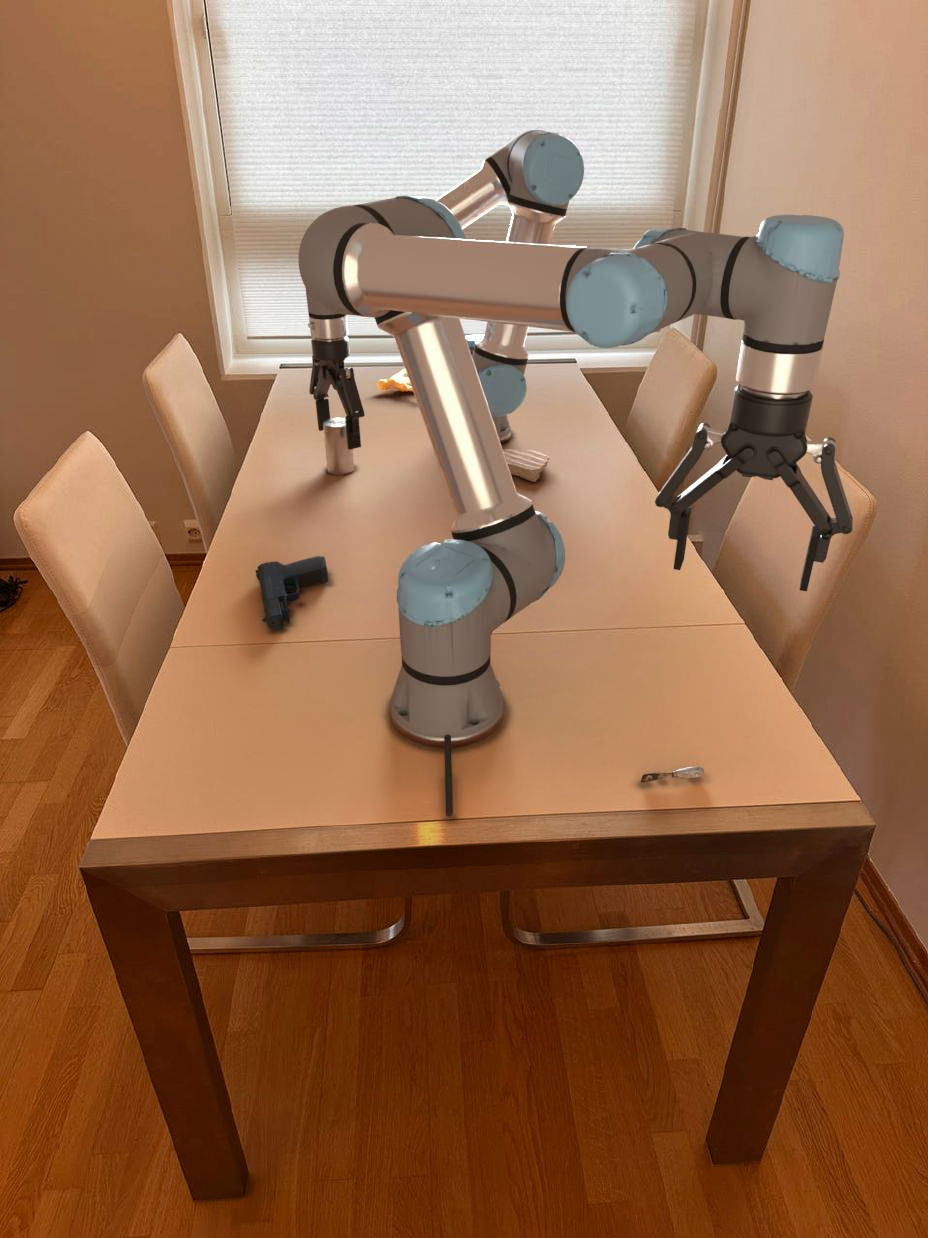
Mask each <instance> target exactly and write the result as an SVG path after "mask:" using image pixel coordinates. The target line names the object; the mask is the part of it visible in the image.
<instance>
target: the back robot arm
mask: <svg viewBox="0 0 928 1238" xmlns="http://www.w3.org/2000/svg"><path fill="white" fill-rule="evenodd" d="M584 176H585V163H584V159H583V155H582V154H581V151H580V149H579V148H578V146H577V145H576V143H574V141H572V140H571V139H570V138H568V137H566V136H565V135H563V134H560V133H559V132H551V131H546V130H542V129H530V130H526V131H524V132H523V131H522V133H520V134H518V135H517V136H515V137H514V138H512V139H511V140H509V141H508V142H507V143H505V144H504V145H502V146H501V147H500V148H499V149H498V150H496V151H494V152H493V153H492V154H491V155H489V156H488V157H486V158H485V159H484V160H483V161H482V163H481V166H480V169H479V170H477V171H476V172H474V173H473V174H472V175H470V176H469V177H467V178H466V179H464V180H463V181H461V182H460V183H458V184H457V185H455V186H454V187H453V188H452V189H450V190H449V191H447V192H445V193H444V194H443V195H441V196H440V197H438V198H436V199H435V200H436V201H437V202H439V203H441V204H443V205H444V206H445V207H447V208H448V209H449V210H450V211H451V212H452V214H453V215H454V216H455V217H456V219H457V220H458V222H459V224H460V226H461V228H462V230H464V229H465V228H467V227H468V226H470V225H471V224H472V223H474V222H475V221H477V220H478V219H480V218H482V217H483V216H484V215H486V214H487V213H490V211H491V210H493V209H494V208H496V207H497V206H500V205H504V206H508V207H509V208H510V210H511V213H512V216H511V220H510V224H509V225H510V226H509V228H508V233H507V237H506V241H505V242H513V243H529V244H545V245H551V242H552V238H553V234H554V230H555V226H556V225H557V224H558V223H560V222H561V221H563V220H564V219H565V218H566V215H567V211H568V207H569V204H570V201H571V200H572V199H573V198H574V197H575V196H576V195H577V193H579V191H580V188H581V187H582V184H583V181H584ZM304 287H305V286H304ZM305 296H306V304H307V312H308V313H307V314H308V321H309V323H308V324H307V327H308V328H309V330H310V331H309V332H310V336H311V337H312V338H311V353H312V354H311V355H312V356H311V360H312V361H311V362H312V366H311V373H310V383H309V395H313V400H315V409H316V410H315V411H316V418H317V419H316V420H317V427H318V431H320V432H322V431H324V428H323V422H324V421H325V420H327V419H330V418H331V412H330V401H329V397H330V396H329V393H328V392H329V390H330V387H332V388H333V390H335V391H336V393H337V395H338V397H339V400H340V402H341V405H342V408H343V411H344V412H345V417H344V418H345V422H346V433H347V445H348V449H349V450H351V449H353V450H354V449H358V448H362V442H361V441H362V439H361V430H360V427H361V426H360V418H363V417H365V416H366V415H365V411H364V406H363V403H362V399H361V397H360V394H359V389H358V386H357V382H356V379H355V373H354V367H353V366H352V367H351V366H350V367H346V364H345V360H346V359H347V358H349V357H350V355H351V348H350V338H349V337H348V335H349V322H348V315H345V314H339V313H336V312H332V311H330V310H328V309H326V308H325V307H323V306H321V305H320V304H319V303H318V302H317V301H315V300H314V298H313V297H312V296H311V295H310V294H309V292H308V290H307V289H306V287H305ZM529 328H530V327H527V326H519V325H511V324H502V323H494V322H487V323H486V327H485V329H484V330H485V331H484V334H468V335H465V337H466V340H467V343H468V346H469V349H470V352H471V355H472V358H473V361H474V364H475V367H476V370H477V373H478V376H479V379H480V383H481V386H482V389H483V392H484V395H485V398H486V401H487V404H488V407H489V410H490V413H491V416H492V419H493V422H494V425H495V428H496V431H497V434H498V437H499V440H500V443H501V444H503V443H505V442H507V441H508V440H509V439H510V438H511V435H512V434H511V433H512V428H511V423H510V420H509V416H508V415H510V414H512V413H513V412H515V411H516V410H517V409H519V408H520V406H521V405H522V404H523V402H524V400H525V399H526V396H527V390H528V387H527V379H526V377H525V372H526V368H527V365H528V361H529V358H530V357H529V356H530V355H529V352H528V351H527V349H526V347H525V343H526V340H527V336H528V331H529Z"/></svg>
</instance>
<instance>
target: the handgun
mask: <svg viewBox="0 0 928 1238" xmlns="http://www.w3.org/2000/svg"><path fill="white" fill-rule="evenodd" d="M255 576H256V579H257V581H259V586H260V591H261V592H260V593H261V598H262V599H261V600H262V605H263V610H264V615H265V617H264V618H262V619H261V622H262V623H266V627H267V628H268V629H270V630H271V631H277V630H283V628H284V626H285V623H284V622H285V621H286V623H287V624H289V623H290V613H289V607H288V603H291V602H295V601H298V600H300V590H302V589H306V588H309V587H314V586H317V585H320V584H323V583H328V582H329V575H328V567H327V562H326V557H325V556H321V555H319V556H318V555H317V556H314V557H313V556H312V557H307V558H304V559H300V560H297V561H294V562H291V563H288V564H283V563H280V562H279V561H267V562H263V563H261V564H259V565H257V569H256V570H255ZM290 592H293V593H290Z"/></svg>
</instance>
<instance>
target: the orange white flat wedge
mask: <svg viewBox="0 0 928 1238" xmlns="http://www.w3.org/2000/svg"><path fill="white" fill-rule="evenodd" d="M404 375H407V372H406V369H405V367H403V369H402V370H401V369H400V370H399V372H398V373H395V374H394V375H391V377H390V378H388V379H383V378H382V379H379V380H378V381H377V389H378V390H380V391H384V392H386V391H390V390H391V387H393V388H395V389H396V390H397V391H400V392H408V391H409V392H413V389H412V386H411V384H410V381H409V378H408V376H407V377H406V376H404Z"/></svg>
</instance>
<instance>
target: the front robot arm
mask: <svg viewBox="0 0 928 1238" xmlns="http://www.w3.org/2000/svg"><path fill="white" fill-rule="evenodd" d="M436 200H437V199H434V198H431V197H428V196H423V195H417V196H416V195H415V196H411V195H397V196H395V197H392V198H387V199H381V200H376V201H369V202H364V203H359V204H352V205H343V206H342V205H341V206H339V207H333V208H332V209H330V210H327V211H325V212H323V213H322V214H320V215H319V216H317V218H316V219H314V220H313V222H312V223H311V224H310V225H308V227H307V228H306V230H305V232H304V234H303V236H302V238H301V241H300V245H299V249H298V269H299V274H300V277H301V280H302V283H303V286H304V287H306V288H305V290H306V289H307V290H308V292H309V294H310V295H311V296H312V297H313V298H314V300H315V301H317V302H318V303H319V304H320V305H321V306H323V307H325V308H326V309H328V310H330V311H332V312H336V313H339V314H345V315H347V316H357V317H363V318H364V317H365V318H374V320H375V323H376V326H377V328H378V329H379V330H381V331H383V332H385V333H387V334H389V335H390V336H391V337H393V338H394V342H395V344H396V347H397V350H398V352H399V355H400V358H401V361H402V363H403V366H404V367H405V369H406V372H407V374H406V375H407V378H409V381H410V384H411V386H412V389H413V391H412V392H413V395H414V398H415V400H416V404H417V406H418V409H419V412H420V414H421V417H422V420H423V423H424V426H425V429H426V432H427V435H428V437H429V440H430V443H431V446H432V449H433V451H434V454H435V457H436V460H437V463H438V465H439V468H440V471H441V474H442V477H443V480H444V483H445V485H446V489H447V491H448V494H449V497H450V500H451V502H452V505H453V508H454V511H455V516H454V519H453V520H452V522H451V525H450V527H449V531H450V534H451V536H452V539H444V540H443V541H442V542H440V543H439V542H437V541H432V542H430V543H427V544H425V545H422V546H420V547H419V548H417V549H415V550H414V551H413V552H411V553H410V554H409V555H408V556H407V557H406V558H405V559H404V561H403V563H402V564H401V566H400V568H399V571H398V578H397V583H398V584H397V590H396V603H397V607H398V608H397V609H398V620H399V621H398V622H399V640H400V655H401V667H400V669H399V672H398V675H397V678H396V681H395V684H394V687H393V690H392V693H391V696H390V703H389V706H390V718H391V721H392V724H393V725H394V727H395V728H396V729H397V731H398V732H399V733H400V734H402V735H403V736H404V737H406V738H407V739H409V740H411V741H413V742H415V743H417V744H420V745H421V744H422V745H425V746H430V747H437V748H444V790H445V791H444V792H445V794H444V797H445V800H444V801H445V815H446V816H447V817H452V816H453V815H454V801H453V764H452V763H453V762H452V759H453V758H452V748H454V747H455V748H457V747H463V746H467V745H471V744H473V743H476V742H480V741H481V740H483V739H485V738H486V737H488V736H489V735H491V734H492V733H493V732H494V731H495V730H496V729H498V727H499V726H500V724H501V722H502V720H503V717H504V697H503V693H502V690H501V685H500V683H499V681H498V679H497V677H496V674H495V672H494V668H493V666H492V664H491V654H492V653H491V651H492V649H491V648H492V647H491V645H492V634H493V632H494V631H495V630H497V629H498V628H499V627H501V626H503V624H505V623H506V622H507V621H509V620H510V619H511V618H513V617H514V616H515V615H517V614H518V613H520V612H521V611H523V610H524V609H526V608H528V607H529V606H530V605H531V604H532V603H535V602H537V601H538V600H540V599H542V598H543V597H544V596H545V595H546V594H547V593H548V591H549V590H550V589H551V588H552V587H553V586H555V584H556V583H557V582H558V581H559V579H560V577H561V575H562V573H563V570H564V567H565V561H566V552H565V551H566V550H565V545H564V544H565V543H564V541H563V537H562V535H561V533H560V531H559V529H558V527H557V526H556V524H554V522H553V521H550V520H547V519H548V517H547V516H546V515H545V514H543V513H541V512H539V511H537V510H535V507H534V504H533V501H532V499H530V498H528V497H527V496H524V495H523V494H521V493H519V492H518V491H517V488H516V485H515V483H514V479H513V477H512V474H511V473H510V470H509V467H508V464H507V461H506V458H505V455H504V452H503V449H504V448H503V446H502V443H500V440H499V437H498V434H497V431H496V428H495V425H494V422H493V419H492V416H491V413H490V410H489V407H488V404H487V401H486V398H485V395H484V392H483V389H482V386H481V383H480V379H479V376H478V373H477V370H476V367H475V364H474V361H473V358H472V355H471V352H470V349H469V346H468V343H467V340H466V337H465V336H466V334H465V331H464V327H463V325H462V323H461V319H462V320H470V321H477V322H478V321H479V322H494V323H502V324H511V325H519V326H527V327H529V328H536V329H544V330H551V331H552V330H553V331H559V332H560V331H562V332H571V333H576V335H578V336H579V337H580V338H582V340H584V341H585V342H587V343H588V344H589V345H591V346H593V347H595V348H600V349H612V348H613V349H614V348H617V347H620V346H629V345H632V344H636V343H638V342H640V341H641V340H643V339H645V338H646V337H648V336H649V335H652V334H653V333H655V332H657V331H660V330H662V329H665V328H666V327H669V326H671V325H673V324H675V323H677V322H680V321H682V320H684V319H687V318H690V317H692V316H693V315H699V316H700V315H701V316H707V317H708V316H709V317H714V318H715V317H716V318H722V319H729V320H735V321H737V320H739V321H743V333H742V337H741V343H740V348H739V349H740V350H739V356H738V361H737V368H736V369H737V370H736V376H735V380H736V382H737V383H738V385H737V386H736V387H734V389H733V394H732V401H731V408H730V414H729V419H728V425H727V427H726V428H725V430H720V429H717V428H712V427H711V425H710V424H709V423H708V422H702V423H700V424H699V426H698V428H697V430H696V433H695V434H694V439H693V443H692V445H691V446H690V448H689V450H688V451H687V452H686V454H685V455H684V457H683V458H682V459H681V460H680V462H679V463H678V465H676V468H675V469H674V470H673V472H672V473H671V474H670V476H669V478H668V479H667V480H666V482H665V483H664V484H663V485H662V487H661V489H660V490H659V492H658V493H657V496H656V497H655V501H654V504H655V506H656V507H658V508H664V509H666V510H668V512H669V514H670V516H669V523H668V531H667V535H668V539H669V540H675V541H676V547H675V554H674V562H673V570H677V571H681V569H682V567H683V564H684V561H685V555H686V548H687V542H688V541H687V540H688V534H689V529H690V520H691V514H692V507H691V506H692V505H693V504H694V503H696V502H697V501H698V500H700V499H701V498H702V497H703V496H705V495H706V494H707V493H708V492H710V491H711V490H712V489H713V488H714V487H715V486H717V485H718V484H719V483H721V482H722V481H723V480H724V479H725V480H726V479H727V478H728V477H731V475H732V474H734V473H735V472H737V473H739V474H741V477H745V478H756V477H757V478H761V479H762V480H767V481H773V480H774V479H778V478H781V480H782V481H783V483H784V484H785V486H786V487H787V488H788V489H790V491H791V493H792V494H793V495H794V497H795V498H796V500H797V501H798V503H799V504H800V506H801V507H802V508H803V510H804V511H805V513H806V515H807V516H808V518H809V519H810V521H811V523H812V524H813V525H812V527H811V528H812V529H811V533H810V538H809V542H808V546H807V551H806V554H805V559H804V563H803V568H802V573H801V577H800V585H799V591H801V592H808V589H809V584H810V581H811V575H812V572H813V571H812V570H813V567H814V562H816V563H822V564H823V563H824V562H825V561H826V560H827V557H828V552H829V547H830V544H831V539H832V537H833V536H834V535H838V534H842V535H848V534H851V533H852V532H853V525H854V524H853V522H854V521H853V519H854V517H853V515H852V511H851V507H850V504H849V502H848V499H847V496H846V492H845V489H844V486H843V483H842V479H841V476H840V474H839V470H838V466H837V463H836V460H835V455H836V445H837V443H836V440H835V438H834V437H831V436H828V437H826V438H824V440H808V439H807V437H806V432H807V427H808V422H809V417H810V413H811V408H812V403H813V398H814V395H813V394H812V392H811V391H812V390H813V389H814V388H815V387H816V382H817V378H818V373H819V370H820V364H821V359H822V355H823V351H824V350H823V349H824V344H825V343H824V342H825V337H826V332H827V327H828V324H829V319H830V315H831V309H832V305H833V301H834V297H835V292H836V288H837V283H838V280H839V279H840V273H841V272H840V265H841V258H842V251H843V246H844V239H845V231H844V227H843V226H842V224H841V223H840V222H839V221H837V220H836V219H834V218H830V217H827V216H826V217H825V216H819V215H811V214H809V215H808V214H801V215H800V214H799V215H798V214H779V215H778V214H777V215H772V216H771V215H770V216H768V217H766V218H765V219H763V220H762V221H761V222H760V226H759V232H758V233H757V234H756V235H753V236H743V235H732V234H726V233H725V234H724V233H717V232H716V233H715V232H707V231H699V230H689V229H687V228H686V227H679V226H678V227H675V228H661V227H660V228H659V227H658V228H657V227H656V228H652V229H649V230H647V231H646V232H644V233H643V234H642V235H641V238H640V240H638V241H636V243H635V245H634V247H633V248H610V247H608V248H607V247H587V246H576V245H561V244H560V245H559V244H558V245H557V244H550V245H545V244H529V243H513V242H506V241H497V240H496V241H495V240H482V239H481V240H480V239H478V240H476V239H466V235H465V233H464V229H462V228H461V226H460V224H459V222H458V220H457V219H456V217H455V216H454V215H453V214H452V212H451V211H450V210H449V209H448V208H447V207H445V206H444V205H443V204H441V203H439V202H437V201H436ZM404 367H403V368H404ZM718 443H719V444H721V448H723V451H724V452H725V454H726V455H724V456H723V458H721V459H720V460H719V461H718V463H716V464H715V465H714V466H713V467H712V468H710V469H709V470H708V471H707V472H705V473H704V474H703V475H702V476H701V477H699V478H698V479H697V480H696V481H694V482H693V483H692V484H691V485H690V486H688V487H687V488H686V489H685V490H684V491H683V492H681V493H680V494H679V495H678V494H675V492H676V491H677V489H679V487H680V486H681V484H682V483H683V482H684V480H685V479H686V477H687V476H688V475H689V474H690V472H691V471H692V469H693V468H694V467H695V465H696V464H697V462H698V461H699V460H700V458H701V456H702V454H703V452H704V450H707V451H710V450H711V449H713V447H714V446H715V444H718ZM806 454H808V455H810V456H811V457H812V460H813V462H814V463H815V464H820V470H821V471H820V472H821V475H822V478H823V481H824V485H825V489H826V491H827V494H828V497H829V500H830V504H831V506H832V510H833V513H834V516H835V517H831V515H830V513H829V512H828V511H827V509H826V508H825V506H824V505H823V502H822V501H821V500H820V499H819V497H818V496H817V494H816V493H815V491H814V490H813V487H812V486H811V485H810V484H809V482H808V481H807V479H806V478H805V476H804V475H803V472H802V470H801V468H800V466H799V464H798V462H799V461H800V460H801V459H803V457H805V455H806Z"/></svg>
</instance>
